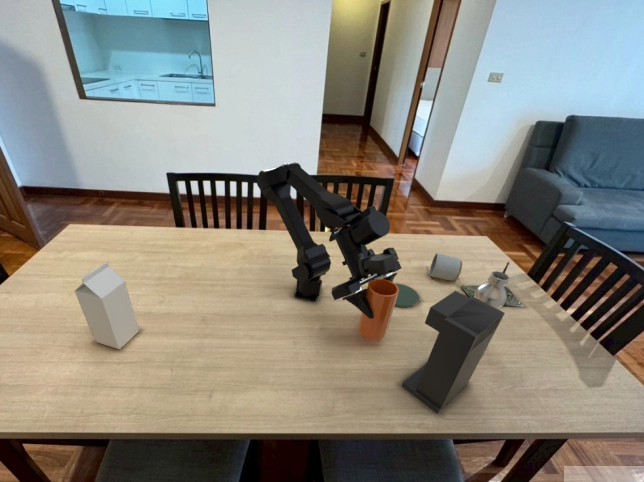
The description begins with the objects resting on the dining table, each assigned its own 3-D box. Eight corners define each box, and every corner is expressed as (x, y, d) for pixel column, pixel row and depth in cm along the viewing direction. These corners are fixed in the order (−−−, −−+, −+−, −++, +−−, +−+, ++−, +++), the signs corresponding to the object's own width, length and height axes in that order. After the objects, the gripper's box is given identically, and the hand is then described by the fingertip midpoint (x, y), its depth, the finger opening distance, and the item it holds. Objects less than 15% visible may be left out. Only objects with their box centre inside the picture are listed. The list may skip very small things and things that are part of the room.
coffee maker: (399, 384, 78) (425, 310, 65) (430, 359, 84) (459, 287, 71) (437, 413, 72) (474, 338, 59) (467, 385, 78) (506, 311, 66)
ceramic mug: (456, 286, 110) (464, 264, 105) (429, 280, 111) (436, 259, 107) (453, 269, 118) (461, 249, 114) (428, 264, 120) (435, 244, 115)
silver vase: (505, 286, 111) (524, 249, 103) (524, 307, 103) (546, 268, 95) (460, 286, 110) (475, 249, 102) (475, 307, 102) (493, 267, 94)
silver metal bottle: (470, 354, 86) (504, 287, 74) (449, 336, 91) (477, 271, 79) (488, 346, 89) (523, 280, 77) (466, 329, 93) (496, 265, 81)
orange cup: (355, 335, 85) (366, 292, 77) (359, 318, 90) (369, 276, 83) (384, 342, 84) (398, 299, 76) (386, 324, 89) (399, 282, 81)
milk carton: (139, 331, 87) (120, 265, 76) (119, 350, 82) (96, 282, 70) (115, 323, 89) (93, 258, 77) (94, 342, 83) (67, 274, 72)
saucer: (378, 303, 101) (379, 300, 101) (382, 282, 110) (382, 280, 109) (418, 311, 99) (419, 309, 98) (418, 289, 107) (419, 287, 107)
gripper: (348, 251, 70) (380, 322, 70) (404, 228, 80) (432, 290, 80) (318, 267, 80) (346, 330, 80) (371, 244, 90) (396, 300, 90)
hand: (382, 312), depth 82 cm, fingers closed on orange cup, 7 cm apart
